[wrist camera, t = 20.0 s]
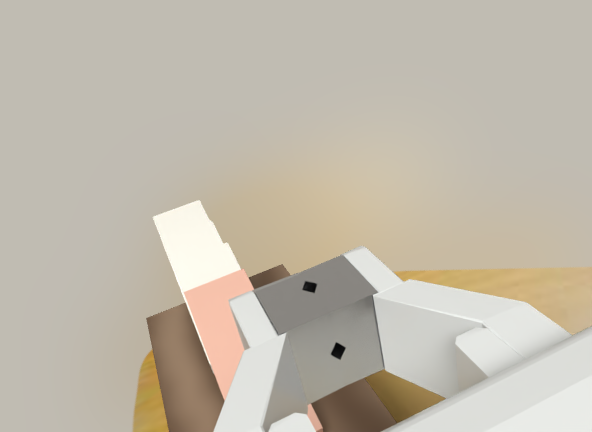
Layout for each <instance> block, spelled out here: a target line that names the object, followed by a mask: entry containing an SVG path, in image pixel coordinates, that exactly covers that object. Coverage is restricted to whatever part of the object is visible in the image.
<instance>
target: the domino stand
mask: <svg viewBox="0 0 592 432" xmlns="http://www.w3.org/2000/svg"><path fill="white" fill-rule="evenodd" d="M288 276H291V275H290V274H289V273H288V271H287V270H286V268H285V267H284V266H283V265H279V266H277V267H274V268H272V269H269V270H267V271H264V272H262V273H259V274H257V275H254V276H252V277H249V280H250V282H251V284H252V286H253V288H254V289H257V288H259V287H262V286H264V285H267V284H270V283H272V282H275V281H278V280H280V279H283V278H285V277H288ZM147 324H148V329H149V334H150V339H151V344H152V349H153V354H154V359H155V364H156V369H157V374H158V379H159V384H160V389H161V393H162V398H163V403H164V408H165V413H166V418H167V423H168V428H169V432H213V431H214V429H215V426H216V423H217V421H218V418H219V415H220V413H221V410H222V407H223V404H224V402H225V401H224V398H223V396H222V393H221V390H220V388H219V385H218V382H217V380H216V377H215V374H213V371H212V369H211V366H210V364H209V361H208V359H207V356H206V354H205V351H204V348H203V346H202V343H201V341H200V338H199V335H198V333H197V330H196V328H195V325H194V323H193V320H192V317H191V315H190V312H189V310H188V307H187V305H186V303H184V304H181V305H179V306H176V307H173V308H171V309H169V310H166V311H163V312H161V313H158V314H156V315H153V316H151V317H148V318H147ZM311 405H312V407H313V409H314V411H315V413H316V415H317V417H318V419H319V421H320V423H321V425H322V427H323V432H381V431H383V430H385V429H387V428H389V427H391V426H393V425H395V424H397V423H396V421H395V420H394V418H393V417H392V416H391V414H390V413H389V411H388V410H387V409H386V407H385V406H384V404H383V403H382V402H381V400H380V399H379V398H378V396H377V395H376V393H375V392H374V391H373V389H372V388H371V386H370V385H369V384H368V382H367V381H366V379H365V378H363V379H360V380H358V381H356V382H353V383H351V384H349V385H347V386H344V387H342V388H340V389H338V390H336V391H335V392H333V393H331V394H329V395H327V396H325V397H323V398H321V399H319V400H317V401H315V402H313V403H311Z"/></svg>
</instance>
